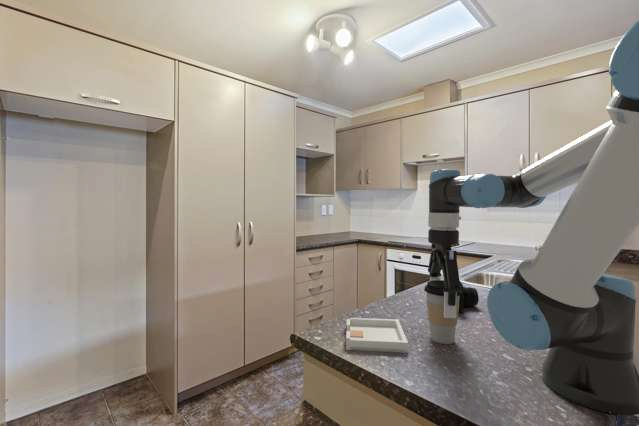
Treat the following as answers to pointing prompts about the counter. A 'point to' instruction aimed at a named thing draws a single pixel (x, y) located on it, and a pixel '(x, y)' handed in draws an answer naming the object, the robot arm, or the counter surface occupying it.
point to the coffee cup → (440, 313)
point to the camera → (467, 297)
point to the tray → (375, 335)
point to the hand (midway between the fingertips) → (441, 307)
